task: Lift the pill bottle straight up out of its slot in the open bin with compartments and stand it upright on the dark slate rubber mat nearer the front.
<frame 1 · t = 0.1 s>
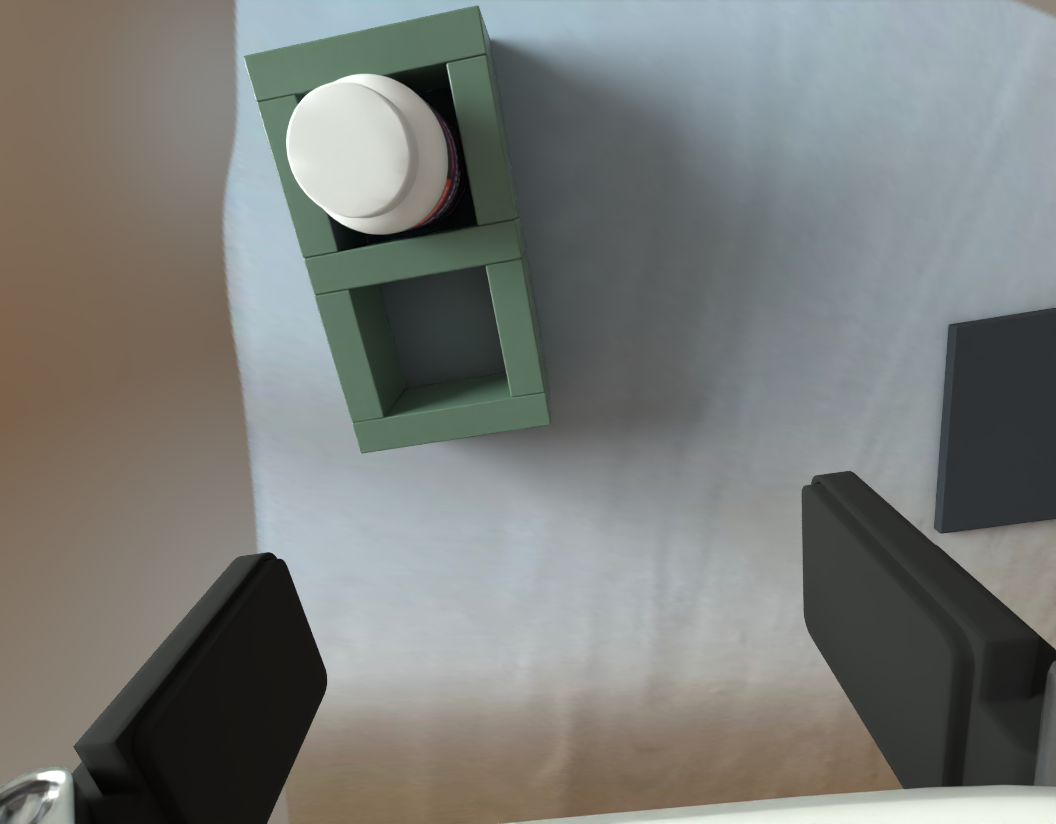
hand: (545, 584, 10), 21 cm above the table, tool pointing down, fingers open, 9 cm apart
mat: (1038, 418, 31), on the table
open bin with compartments: (431, 249, 29), on the table
pill bottle: (414, 168, 28), resting in open bin with compartments
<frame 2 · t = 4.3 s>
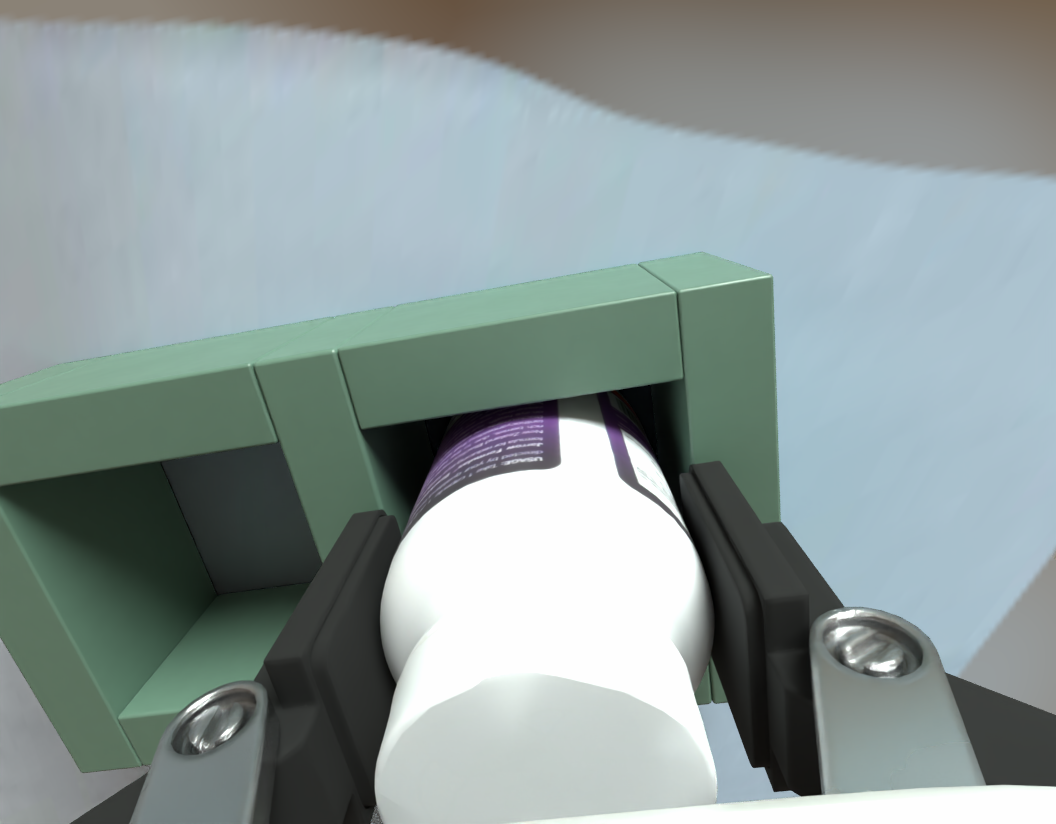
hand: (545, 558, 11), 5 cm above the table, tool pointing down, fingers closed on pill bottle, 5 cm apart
open bin with compartments: (409, 473, 16), on the table
pill bottle: (545, 450, 16), resting in open bin with compartments, touching gripper
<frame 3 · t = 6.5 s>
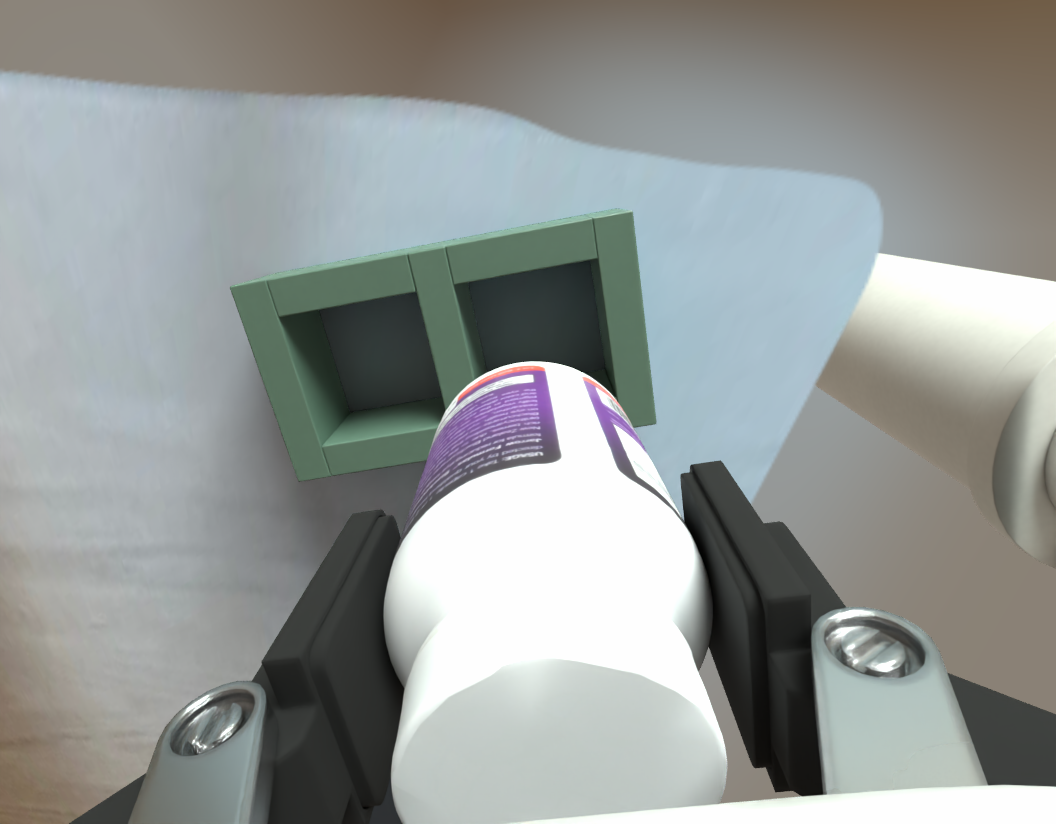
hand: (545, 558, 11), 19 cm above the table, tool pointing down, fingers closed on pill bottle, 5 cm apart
mat: (360, 786, 40), on the table
open bin with compartments: (463, 334, 29), on the table
pill bottle: (534, 449, 16), point 14 cm above the table, touching gripper
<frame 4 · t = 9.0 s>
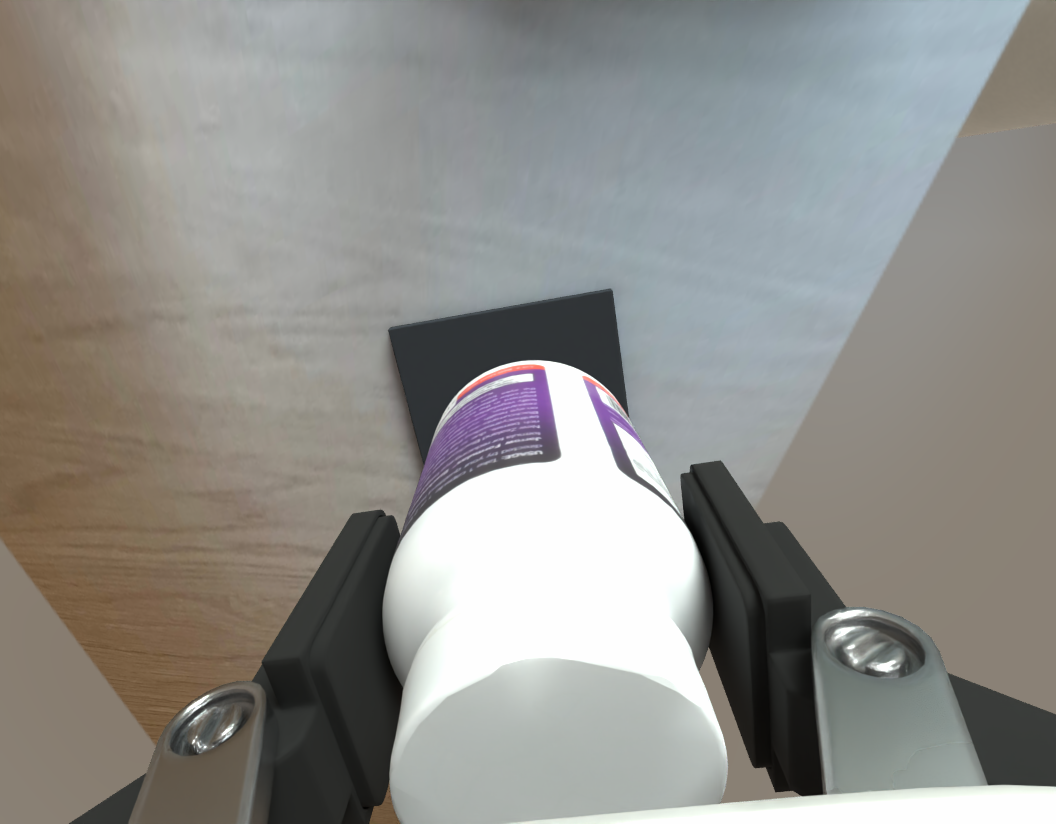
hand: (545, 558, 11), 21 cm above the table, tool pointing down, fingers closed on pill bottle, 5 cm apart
mat: (516, 395, 33), on the table
pill bottle: (534, 449, 16), point 16 cm above the table, touching gripper
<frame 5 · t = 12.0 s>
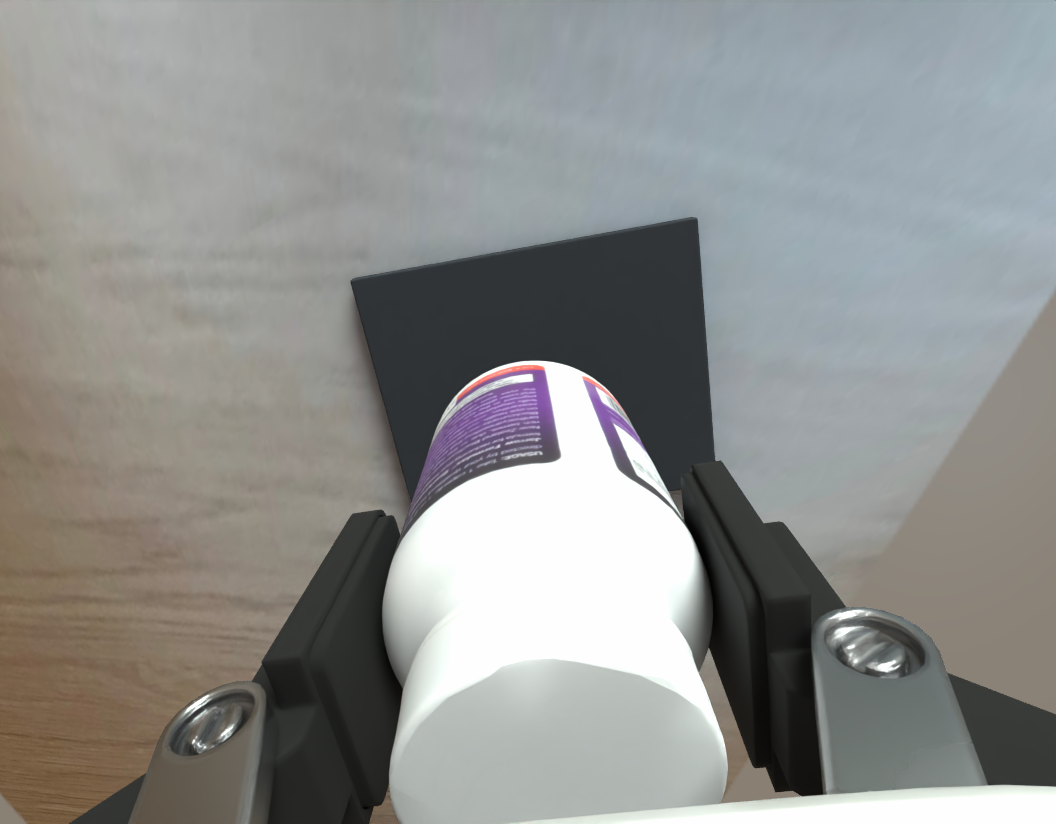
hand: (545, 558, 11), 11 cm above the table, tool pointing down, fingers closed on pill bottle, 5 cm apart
mat: (543, 383, 22), on the table
pill bottle: (533, 449, 16), point 6 cm above the table, touching gripper
when the fingers open (6 cm above the table, at t = 14.0 s): pill bottle stays where it is, resting on mat.
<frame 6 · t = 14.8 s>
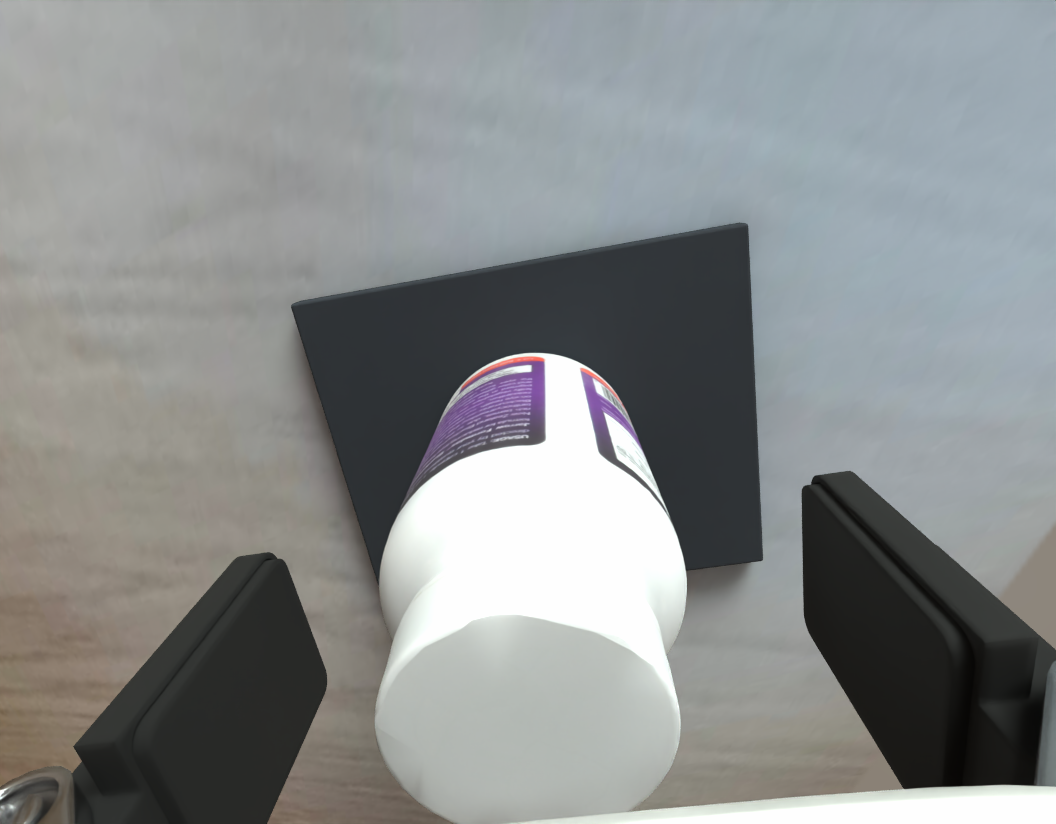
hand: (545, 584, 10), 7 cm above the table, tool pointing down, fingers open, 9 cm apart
mat: (543, 434, 17), on the table
pill bottle: (536, 438, 17), resting on mat
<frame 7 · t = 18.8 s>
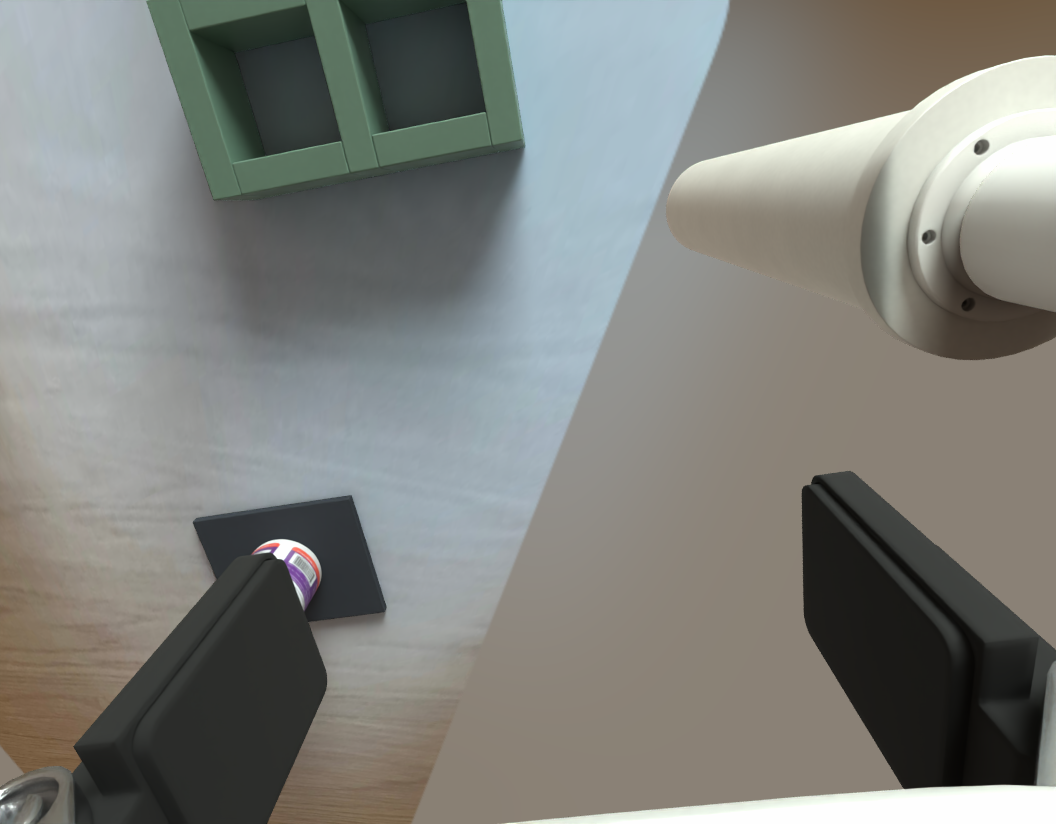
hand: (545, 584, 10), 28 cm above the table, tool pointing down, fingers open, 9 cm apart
mat: (294, 563, 44), on the table
open bin with compartments: (365, 88, 33), on the table
pill bottle: (289, 566, 44), resting on mat
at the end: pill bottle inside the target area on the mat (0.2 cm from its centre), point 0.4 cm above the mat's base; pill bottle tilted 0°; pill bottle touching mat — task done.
